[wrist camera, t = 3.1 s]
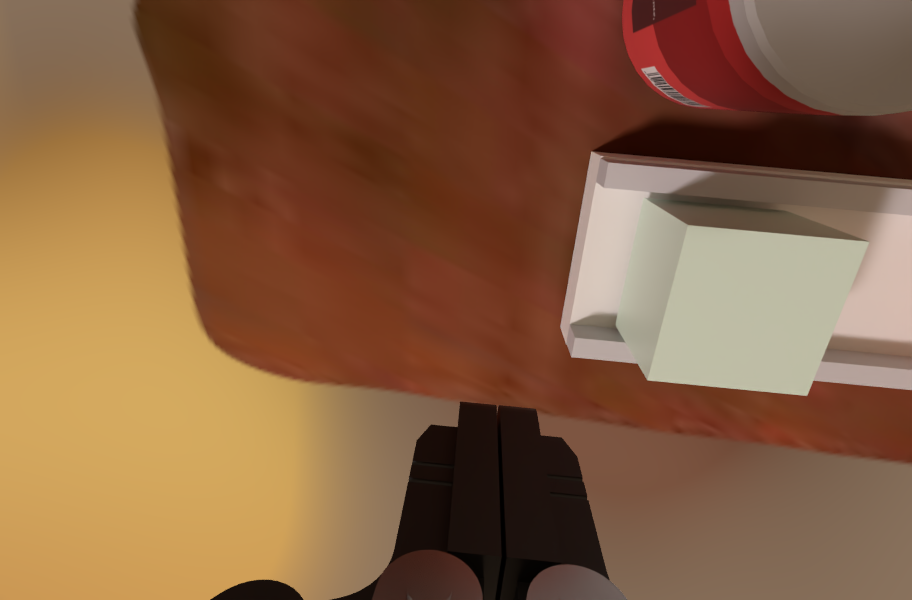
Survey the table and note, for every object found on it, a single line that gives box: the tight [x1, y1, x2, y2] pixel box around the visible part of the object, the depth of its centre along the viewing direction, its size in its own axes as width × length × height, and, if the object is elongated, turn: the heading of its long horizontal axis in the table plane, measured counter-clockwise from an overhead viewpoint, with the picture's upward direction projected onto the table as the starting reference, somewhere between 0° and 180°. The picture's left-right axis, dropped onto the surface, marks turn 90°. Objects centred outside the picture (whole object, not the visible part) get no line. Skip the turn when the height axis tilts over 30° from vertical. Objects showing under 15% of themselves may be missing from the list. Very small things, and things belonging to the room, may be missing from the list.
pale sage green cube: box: [615, 198, 869, 396], centre depth 20 cm, size 6×6×5 cm
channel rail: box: [560, 151, 912, 390], centre depth 20 cm, size 24×9×10 cm, turn 85°
